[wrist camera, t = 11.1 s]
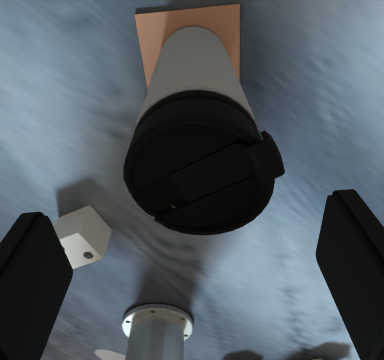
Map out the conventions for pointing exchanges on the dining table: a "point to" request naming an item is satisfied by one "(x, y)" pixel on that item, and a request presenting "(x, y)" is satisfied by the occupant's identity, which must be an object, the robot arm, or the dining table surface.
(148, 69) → the game board
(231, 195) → the travel mug
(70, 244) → the die
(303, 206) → the dining table surface
